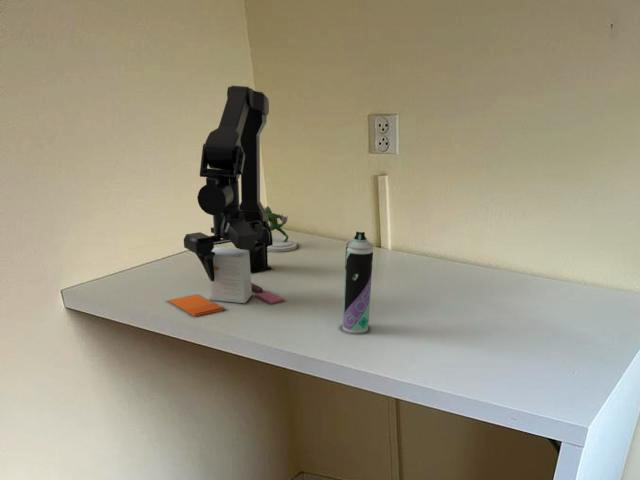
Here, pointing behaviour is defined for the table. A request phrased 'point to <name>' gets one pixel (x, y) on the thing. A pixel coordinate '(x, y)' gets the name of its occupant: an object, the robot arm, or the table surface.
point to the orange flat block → (196, 305)
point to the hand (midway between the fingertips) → (230, 277)
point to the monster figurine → (281, 242)
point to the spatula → (265, 295)
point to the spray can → (357, 284)
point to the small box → (231, 275)
